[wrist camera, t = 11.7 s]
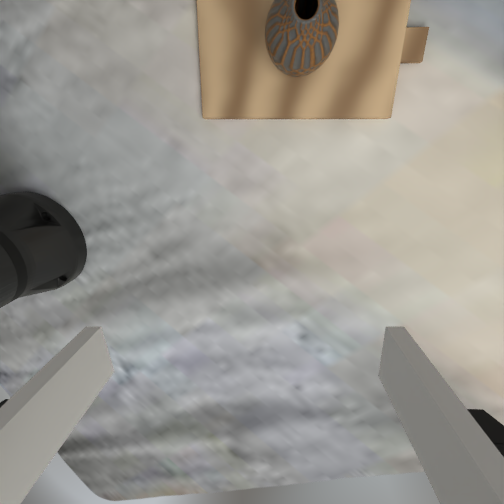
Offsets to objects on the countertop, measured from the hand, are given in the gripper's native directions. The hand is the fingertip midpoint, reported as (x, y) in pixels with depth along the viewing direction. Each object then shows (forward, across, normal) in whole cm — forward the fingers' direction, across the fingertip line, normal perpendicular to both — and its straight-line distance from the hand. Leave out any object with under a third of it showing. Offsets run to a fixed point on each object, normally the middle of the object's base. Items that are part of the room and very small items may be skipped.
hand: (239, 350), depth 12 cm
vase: (+25, +5, +19) cm, 32 cm away
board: (+26, +6, +19) cm, 33 cm away
